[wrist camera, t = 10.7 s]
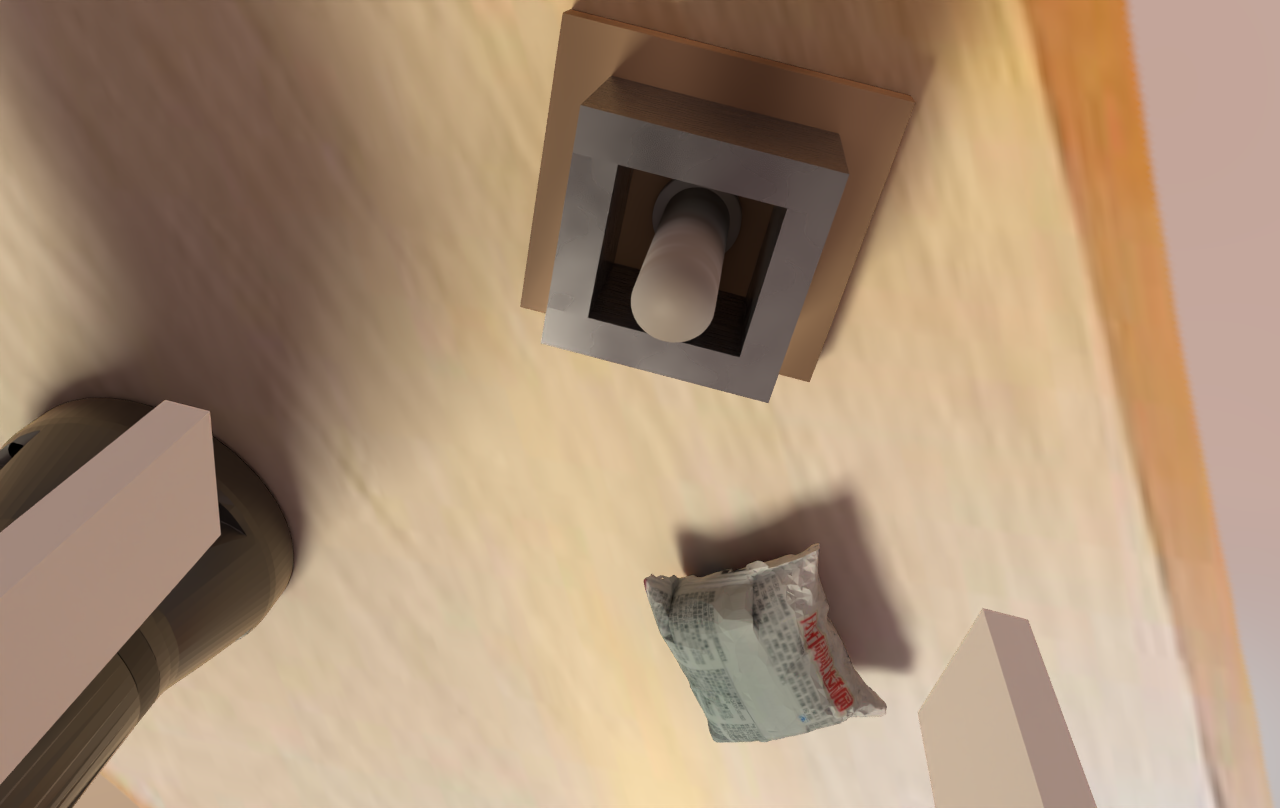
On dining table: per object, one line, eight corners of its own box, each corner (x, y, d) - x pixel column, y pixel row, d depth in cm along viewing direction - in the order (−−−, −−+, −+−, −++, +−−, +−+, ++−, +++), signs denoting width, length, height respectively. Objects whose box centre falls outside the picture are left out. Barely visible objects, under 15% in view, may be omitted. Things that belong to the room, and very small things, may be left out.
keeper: (528, 294, 34) (452, 409, 26) (570, 8, 28) (489, 47, 20) (808, 367, 34) (816, 505, 26) (910, 95, 28) (960, 167, 20)
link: (573, 286, 32) (541, 343, 28) (611, 75, 28) (580, 105, 24) (770, 337, 32) (768, 402, 28) (839, 134, 28) (849, 174, 23)
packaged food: (818, 510, 38) (821, 585, 33) (884, 683, 43) (893, 767, 38) (645, 547, 40) (628, 621, 36) (726, 705, 45) (720, 785, 41)
